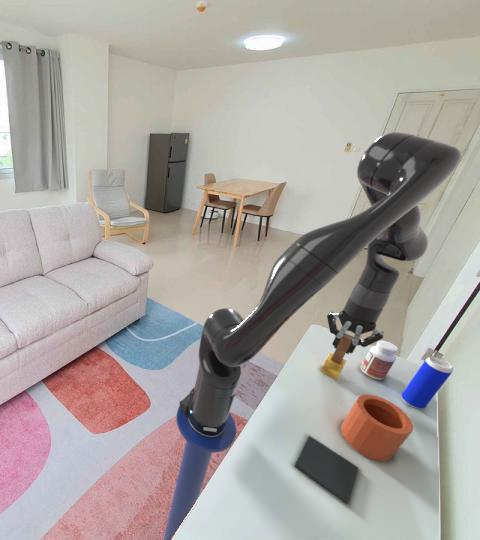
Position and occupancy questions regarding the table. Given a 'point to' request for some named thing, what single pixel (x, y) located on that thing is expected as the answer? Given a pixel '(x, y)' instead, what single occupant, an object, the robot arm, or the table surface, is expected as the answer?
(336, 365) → the sponge brush
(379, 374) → the pill bottle
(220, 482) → the table surface
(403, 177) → the robot arm
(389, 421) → the jar
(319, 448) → the mat
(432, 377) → the beverage can
